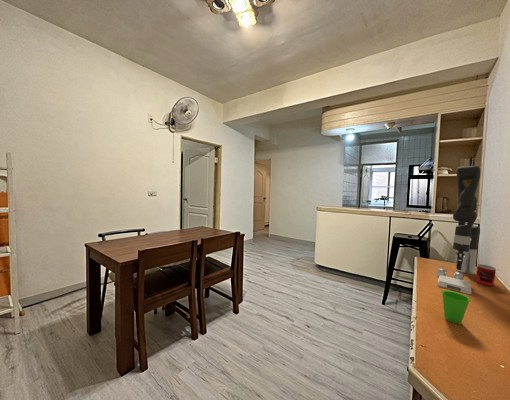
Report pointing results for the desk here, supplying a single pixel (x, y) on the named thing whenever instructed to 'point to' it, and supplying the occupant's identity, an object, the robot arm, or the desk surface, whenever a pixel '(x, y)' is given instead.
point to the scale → (454, 284)
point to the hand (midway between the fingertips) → (458, 268)
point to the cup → (454, 306)
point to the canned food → (485, 275)
